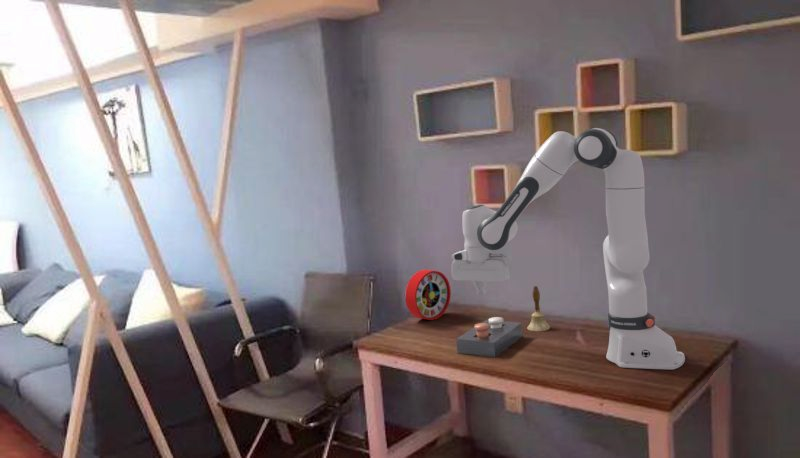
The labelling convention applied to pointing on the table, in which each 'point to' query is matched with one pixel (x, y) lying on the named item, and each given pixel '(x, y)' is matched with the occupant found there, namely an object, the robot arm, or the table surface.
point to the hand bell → (537, 315)
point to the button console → (489, 340)
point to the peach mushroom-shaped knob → (482, 330)
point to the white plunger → (496, 322)
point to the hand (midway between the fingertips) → (482, 293)
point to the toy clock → (428, 294)
